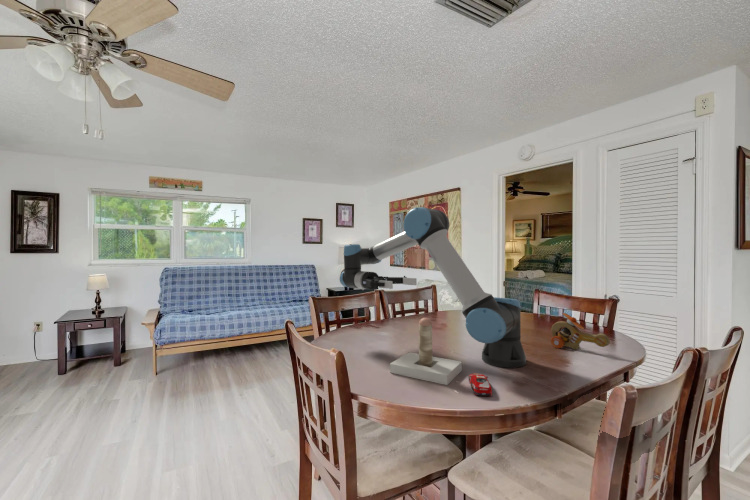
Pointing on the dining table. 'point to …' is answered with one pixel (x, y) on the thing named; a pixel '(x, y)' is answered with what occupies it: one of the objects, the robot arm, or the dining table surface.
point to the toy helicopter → (574, 335)
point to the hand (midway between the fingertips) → (404, 283)
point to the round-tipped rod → (425, 342)
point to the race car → (480, 384)
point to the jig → (427, 368)
